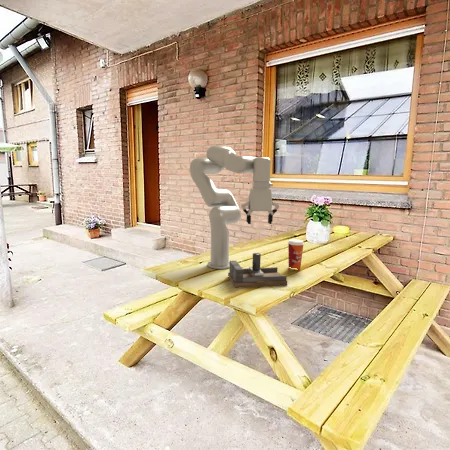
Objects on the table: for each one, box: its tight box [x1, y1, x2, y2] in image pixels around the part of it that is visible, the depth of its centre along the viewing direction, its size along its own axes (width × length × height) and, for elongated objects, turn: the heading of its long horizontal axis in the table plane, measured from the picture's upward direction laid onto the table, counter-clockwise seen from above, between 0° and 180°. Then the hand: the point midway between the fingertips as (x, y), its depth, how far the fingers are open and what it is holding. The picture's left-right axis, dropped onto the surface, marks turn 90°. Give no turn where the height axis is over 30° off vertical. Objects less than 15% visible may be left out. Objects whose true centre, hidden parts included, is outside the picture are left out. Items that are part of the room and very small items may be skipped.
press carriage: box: [248, 252, 264, 277], centre depth 154 cm, size 10×4×10 cm, turn 11°
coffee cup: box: [287, 238, 305, 271], centre depth 173 cm, size 8×8×15 cm
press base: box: [227, 260, 288, 289], centre depth 154 cm, size 15×24×8 cm, turn 101°
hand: (259, 223), depth 151 cm, fingers open, 9 cm apart
